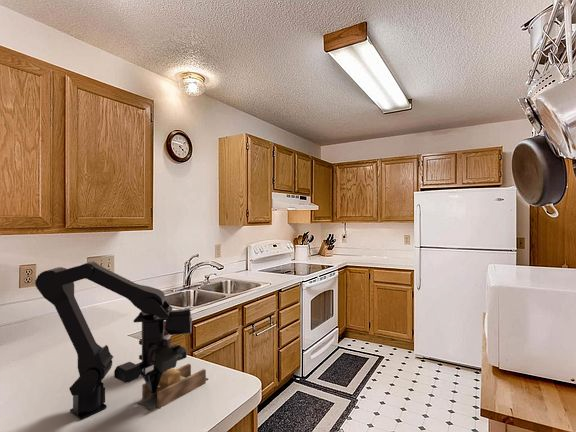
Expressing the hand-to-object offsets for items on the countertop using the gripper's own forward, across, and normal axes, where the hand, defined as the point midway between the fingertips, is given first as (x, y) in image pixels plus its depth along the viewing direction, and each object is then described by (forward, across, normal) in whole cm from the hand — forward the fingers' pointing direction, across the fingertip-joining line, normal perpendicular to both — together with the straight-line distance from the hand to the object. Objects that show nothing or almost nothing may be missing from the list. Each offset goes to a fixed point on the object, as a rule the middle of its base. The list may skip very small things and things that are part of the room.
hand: (153, 392), depth 89 cm
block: (0, +6, 0) cm, 6 cm away
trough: (+2, +7, 0) cm, 8 cm away
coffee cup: (+3, +13, +18) cm, 23 cm away
